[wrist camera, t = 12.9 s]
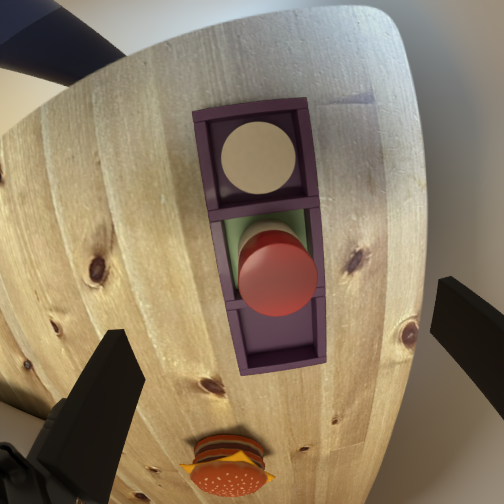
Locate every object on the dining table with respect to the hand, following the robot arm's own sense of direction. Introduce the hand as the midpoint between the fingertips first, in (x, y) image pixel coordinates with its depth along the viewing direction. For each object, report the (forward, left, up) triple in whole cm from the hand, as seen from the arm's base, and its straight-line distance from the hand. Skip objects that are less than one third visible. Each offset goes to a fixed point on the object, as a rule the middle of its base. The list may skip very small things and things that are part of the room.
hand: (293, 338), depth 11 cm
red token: (0, 0, -9) cm, 9 cm away
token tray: (0, 0, -13) cm, 13 cm away
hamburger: (+27, -8, -13) cm, 31 cm away
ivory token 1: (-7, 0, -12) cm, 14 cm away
